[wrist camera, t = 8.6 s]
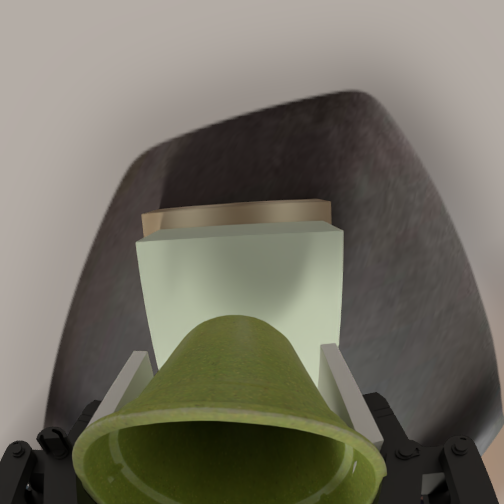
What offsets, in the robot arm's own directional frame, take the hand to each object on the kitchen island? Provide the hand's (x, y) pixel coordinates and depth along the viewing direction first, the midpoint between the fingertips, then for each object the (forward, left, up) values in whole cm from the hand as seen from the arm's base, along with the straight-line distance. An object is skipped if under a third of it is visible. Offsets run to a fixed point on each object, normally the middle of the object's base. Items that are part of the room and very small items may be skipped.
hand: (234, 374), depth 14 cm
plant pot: (0, 0, -1) cm, 1 cm away
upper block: (0, 0, -9) cm, 9 cm away
